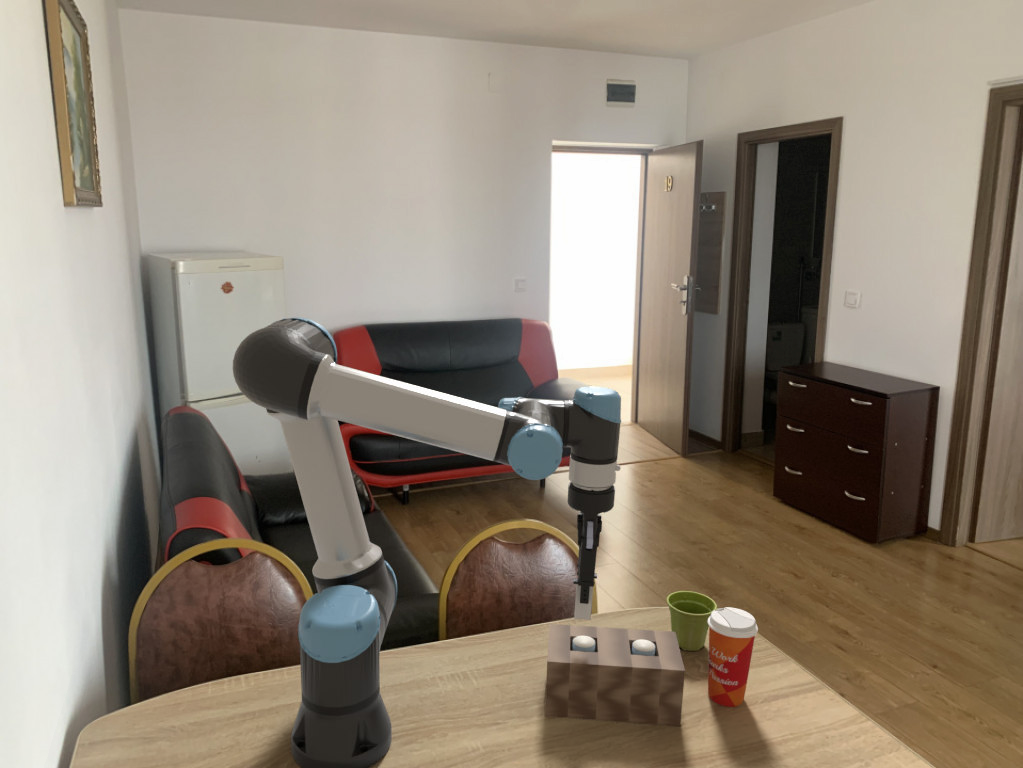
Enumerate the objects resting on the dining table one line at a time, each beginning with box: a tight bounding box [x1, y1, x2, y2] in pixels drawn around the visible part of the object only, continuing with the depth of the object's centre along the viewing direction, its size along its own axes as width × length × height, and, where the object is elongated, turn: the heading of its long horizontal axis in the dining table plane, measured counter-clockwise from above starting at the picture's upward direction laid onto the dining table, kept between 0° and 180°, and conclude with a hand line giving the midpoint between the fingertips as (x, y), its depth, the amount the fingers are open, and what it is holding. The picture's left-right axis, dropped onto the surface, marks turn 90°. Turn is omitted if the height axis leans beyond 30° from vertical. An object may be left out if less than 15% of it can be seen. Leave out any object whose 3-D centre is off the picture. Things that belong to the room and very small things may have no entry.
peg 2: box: [632, 639, 655, 656], centre depth 131 cm, size 4×4×10 cm
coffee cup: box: [707, 606, 759, 708], centre depth 132 cm, size 8×8×15 cm
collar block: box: [544, 623, 686, 727], centre depth 131 cm, size 22×12×10 cm, turn 86°
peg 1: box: [572, 636, 595, 652], centre depth 132 cm, size 4×4×10 cm
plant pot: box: [666, 590, 718, 652], centre depth 150 cm, size 9×9×9 cm
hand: (582, 617), depth 130 cm, fingers closed
